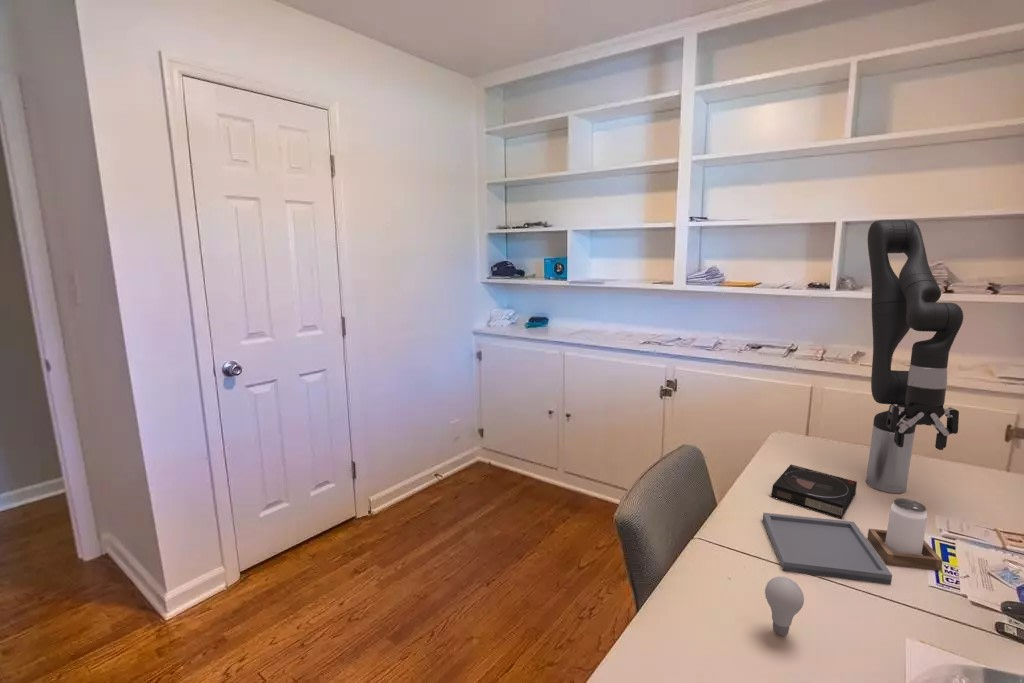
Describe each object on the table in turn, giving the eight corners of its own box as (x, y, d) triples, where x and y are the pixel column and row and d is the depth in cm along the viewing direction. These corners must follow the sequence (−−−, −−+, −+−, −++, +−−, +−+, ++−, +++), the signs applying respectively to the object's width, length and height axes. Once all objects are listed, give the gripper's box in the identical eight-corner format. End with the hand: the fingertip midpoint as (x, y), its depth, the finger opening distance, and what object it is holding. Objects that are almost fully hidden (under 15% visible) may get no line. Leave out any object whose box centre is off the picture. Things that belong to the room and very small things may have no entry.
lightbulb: (754, 622, 96) (759, 570, 93) (786, 620, 96) (791, 568, 94) (773, 648, 90) (779, 593, 87) (807, 645, 90) (813, 590, 88)
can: (927, 564, 111) (935, 513, 108) (893, 561, 112) (900, 511, 110) (910, 546, 117) (918, 498, 115) (878, 543, 119) (885, 496, 116)
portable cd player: (770, 499, 140) (772, 485, 139) (789, 476, 152) (790, 464, 151) (841, 521, 129) (843, 506, 128) (855, 495, 141) (857, 481, 140)
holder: (867, 538, 121) (868, 528, 120) (916, 543, 118) (918, 533, 118) (886, 564, 111) (888, 554, 111) (940, 571, 109) (942, 560, 108)
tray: (762, 520, 129) (763, 512, 128) (852, 530, 124) (853, 521, 124) (783, 571, 110) (784, 561, 109) (890, 584, 105) (892, 575, 105)
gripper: (951, 382, 128) (943, 445, 130) (885, 379, 131) (879, 440, 134) (970, 389, 121) (961, 455, 123) (900, 386, 124) (893, 450, 126)
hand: (918, 447), depth 128 cm, fingers open, 8 cm apart
